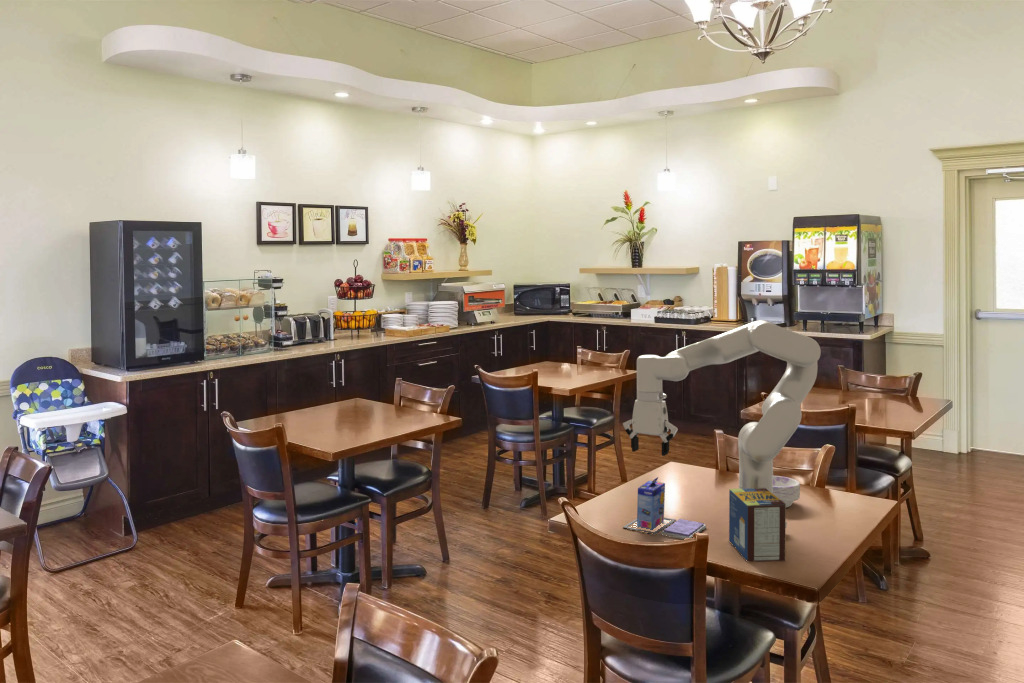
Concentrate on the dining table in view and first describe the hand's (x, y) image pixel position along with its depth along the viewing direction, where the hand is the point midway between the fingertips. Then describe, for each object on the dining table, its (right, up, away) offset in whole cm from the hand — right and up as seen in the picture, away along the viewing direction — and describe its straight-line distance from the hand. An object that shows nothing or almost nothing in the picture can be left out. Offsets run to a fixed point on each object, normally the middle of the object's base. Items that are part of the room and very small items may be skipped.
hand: (649, 452), depth 230 cm
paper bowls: (+44, -20, +20) cm, 52 cm away
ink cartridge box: (+1, -22, +2) cm, 22 cm away
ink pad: (+9, -23, -4) cm, 25 cm away
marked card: (0, -22, +2) cm, 22 cm away
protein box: (+25, -24, -21) cm, 41 cm away
